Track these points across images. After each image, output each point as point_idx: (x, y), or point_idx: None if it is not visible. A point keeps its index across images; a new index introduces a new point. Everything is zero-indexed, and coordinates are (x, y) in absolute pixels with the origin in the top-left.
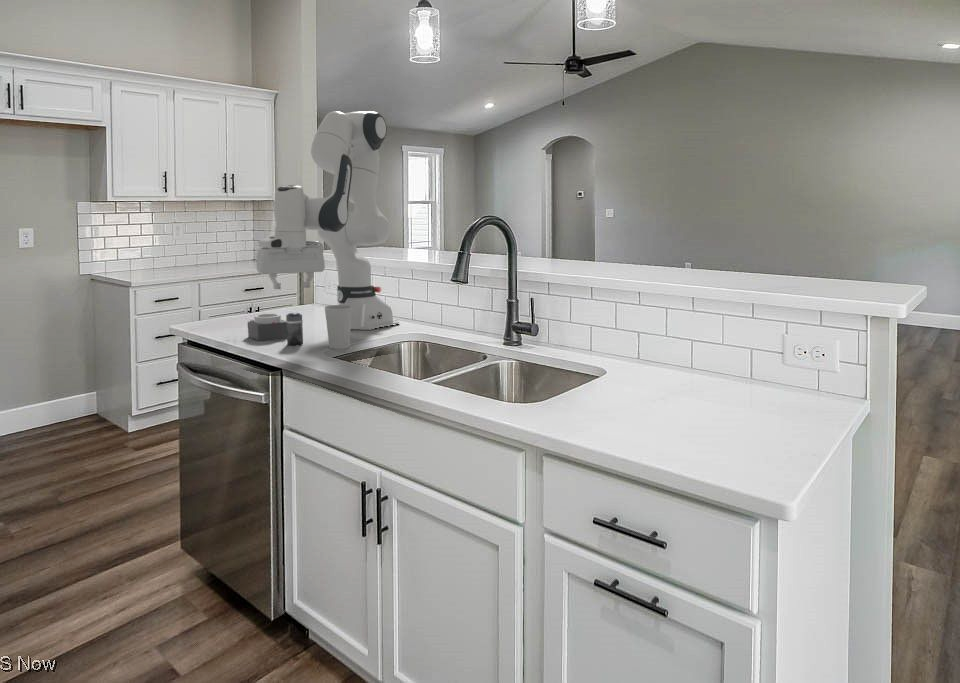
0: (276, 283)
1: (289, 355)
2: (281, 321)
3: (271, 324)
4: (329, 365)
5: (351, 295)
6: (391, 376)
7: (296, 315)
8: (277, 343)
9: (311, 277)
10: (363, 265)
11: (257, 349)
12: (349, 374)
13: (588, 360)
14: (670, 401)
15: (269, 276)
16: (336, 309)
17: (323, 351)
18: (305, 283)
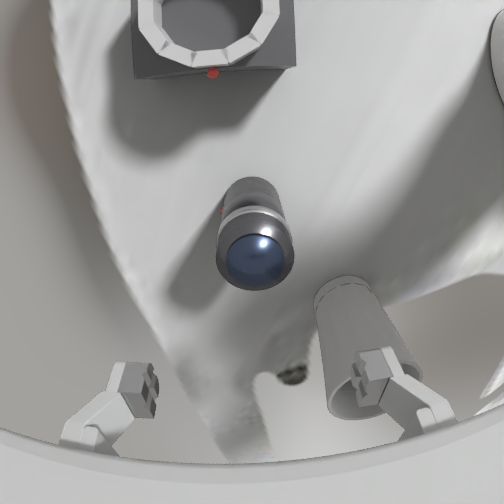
0: (124, 416)
1: (182, 324)
2: (272, 36)
3: (204, 69)
4: (227, 410)
5: None
6: (272, 459)
7: (256, 282)
8: (202, 154)
9: (408, 424)
10: None
11: (118, 215)
12: (230, 444)
13: None
14: None
15: (65, 427)
16: (341, 417)
17: (276, 327)
18: (357, 393)
